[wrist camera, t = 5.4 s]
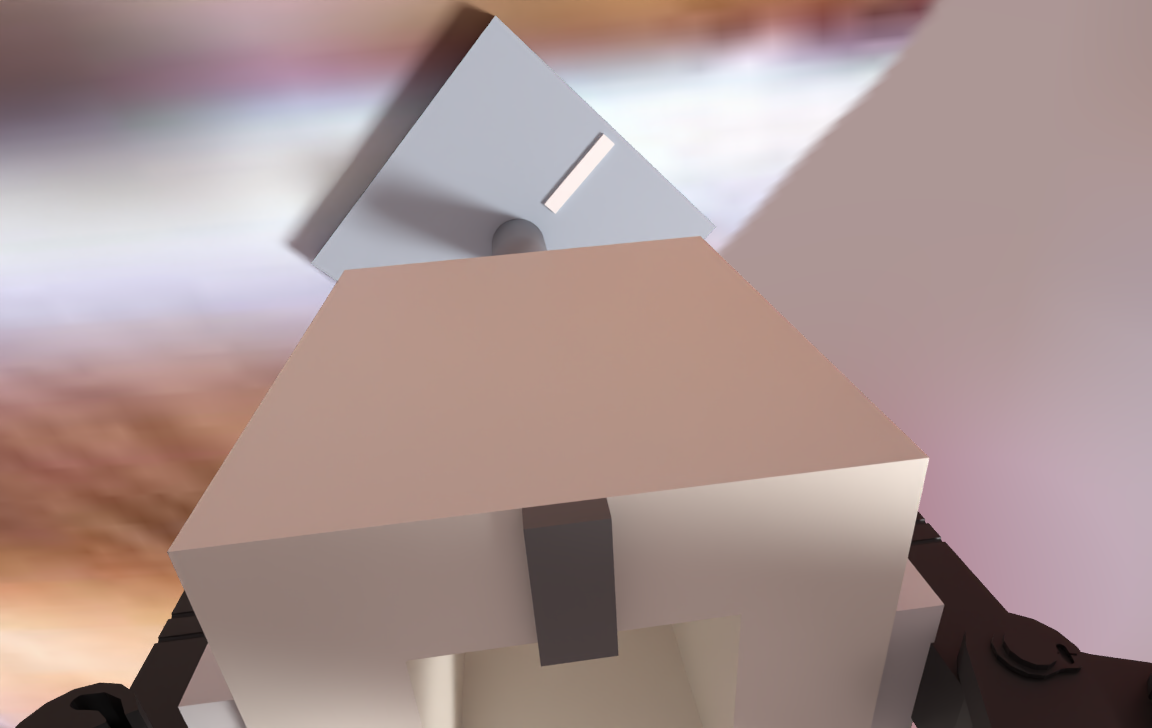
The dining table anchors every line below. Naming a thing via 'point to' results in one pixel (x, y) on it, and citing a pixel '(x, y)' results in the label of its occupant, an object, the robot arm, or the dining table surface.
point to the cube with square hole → (555, 507)
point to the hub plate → (507, 174)
